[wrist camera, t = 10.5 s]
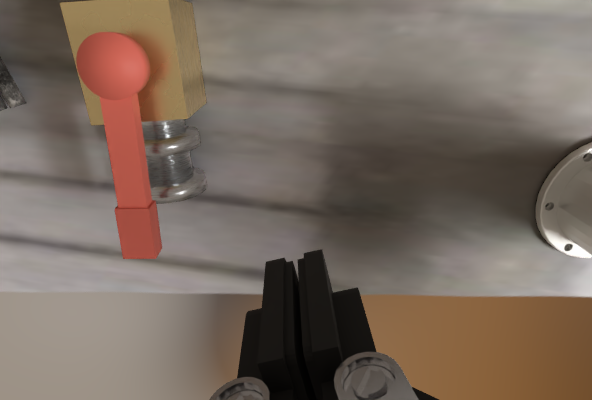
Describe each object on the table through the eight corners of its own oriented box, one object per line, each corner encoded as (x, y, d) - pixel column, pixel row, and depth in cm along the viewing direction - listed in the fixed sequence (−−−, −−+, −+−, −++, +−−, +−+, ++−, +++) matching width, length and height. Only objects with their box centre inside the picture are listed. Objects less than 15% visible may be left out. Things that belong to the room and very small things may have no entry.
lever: (172, 247, 32) (166, 258, 30) (120, 248, 31) (112, 258, 30) (146, 32, 26) (137, 32, 24) (82, 31, 26) (69, 31, 24)
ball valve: (177, -100, 31) (138, -148, 22) (217, 176, 39) (199, 213, 31) (84, -93, 31) (12, -139, 22) (144, 181, 39) (107, 220, 31)
